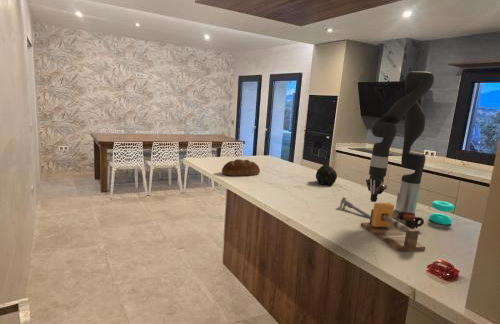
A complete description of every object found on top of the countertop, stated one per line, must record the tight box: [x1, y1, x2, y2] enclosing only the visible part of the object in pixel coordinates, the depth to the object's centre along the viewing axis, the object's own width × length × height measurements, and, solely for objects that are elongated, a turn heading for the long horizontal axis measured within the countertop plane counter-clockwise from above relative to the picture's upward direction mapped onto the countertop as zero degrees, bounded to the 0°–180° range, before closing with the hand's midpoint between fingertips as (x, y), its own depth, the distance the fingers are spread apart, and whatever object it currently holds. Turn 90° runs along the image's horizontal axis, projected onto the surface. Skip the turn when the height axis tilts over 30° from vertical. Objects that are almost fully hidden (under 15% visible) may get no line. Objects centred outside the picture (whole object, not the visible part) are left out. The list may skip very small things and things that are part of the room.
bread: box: [221, 158, 261, 177], centre depth 234 cm, size 16×29×11 cm, turn 115°
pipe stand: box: [360, 208, 426, 253], centre depth 136 cm, size 26×12×8 cm, turn 14°
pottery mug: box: [395, 212, 425, 229], centre depth 150 cm, size 12×10×8 cm
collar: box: [371, 202, 395, 227], centre depth 142 cm, size 3×8×10 cm, turn 104°
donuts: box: [428, 200, 455, 226], centre depth 160 cm, size 10×10×10 cm
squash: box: [315, 163, 338, 186], centre depth 223 cm, size 14×15×15 cm
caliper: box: [339, 196, 371, 219], centre depth 165 cm, size 20×1×6 cm, turn 35°
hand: (373, 201), depth 149 cm, fingers closed
